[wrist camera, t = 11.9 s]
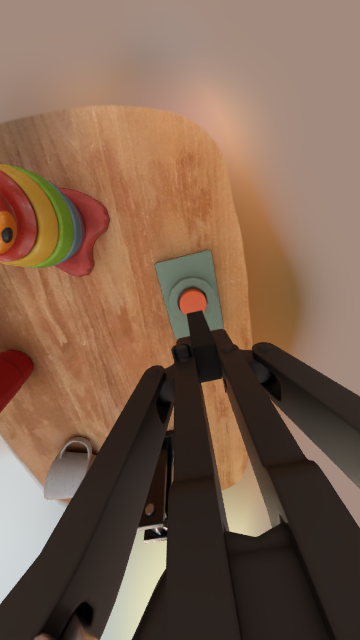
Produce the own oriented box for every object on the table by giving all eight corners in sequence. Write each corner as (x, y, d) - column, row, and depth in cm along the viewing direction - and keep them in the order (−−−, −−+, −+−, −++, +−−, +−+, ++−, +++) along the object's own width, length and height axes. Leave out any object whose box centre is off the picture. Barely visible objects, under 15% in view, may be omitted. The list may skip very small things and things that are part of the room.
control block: (221, 323, 32) (226, 333, 28) (175, 333, 32) (174, 344, 29) (208, 249, 27) (213, 249, 24) (155, 262, 28) (152, 265, 24)
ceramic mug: (101, 467, 45) (87, 509, 37) (66, 466, 44) (45, 508, 37) (98, 435, 41) (81, 474, 34) (60, 433, 41) (34, 473, 34)
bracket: (179, 428, 41) (180, 513, 28) (189, 455, 44) (193, 542, 31) (131, 438, 41) (110, 524, 29) (144, 463, 45) (130, 551, 32)
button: (207, 309, 27) (208, 313, 25) (182, 315, 27) (182, 319, 26) (202, 285, 26) (203, 288, 24) (176, 291, 26) (176, 294, 24)
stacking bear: (88, 281, 29) (-32, 326, 12) (20, 247, 27) (-229, 247, 10) (114, 211, 25) (-3, 142, 9) (39, 166, 24) (-287, -24, 7)
